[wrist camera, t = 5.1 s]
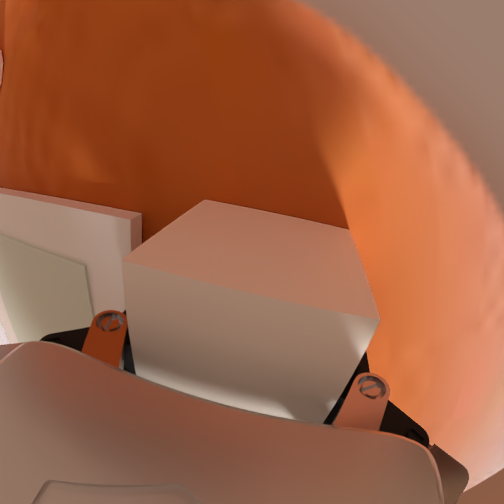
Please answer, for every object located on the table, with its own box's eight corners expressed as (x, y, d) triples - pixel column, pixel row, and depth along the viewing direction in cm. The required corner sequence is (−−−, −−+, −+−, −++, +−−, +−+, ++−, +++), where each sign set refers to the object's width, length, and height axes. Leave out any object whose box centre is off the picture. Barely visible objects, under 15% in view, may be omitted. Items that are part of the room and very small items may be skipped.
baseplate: (142, 213, 12) (127, 221, 11) (159, 423, 20) (154, 434, 19) (-22, 183, 14) (-33, 187, 13) (20, 348, 22) (13, 355, 21)
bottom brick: (349, 229, 11) (380, 319, 6) (302, 369, 14) (290, 467, 9) (204, 199, 12) (121, 260, 6) (194, 343, 15) (149, 429, 10)
